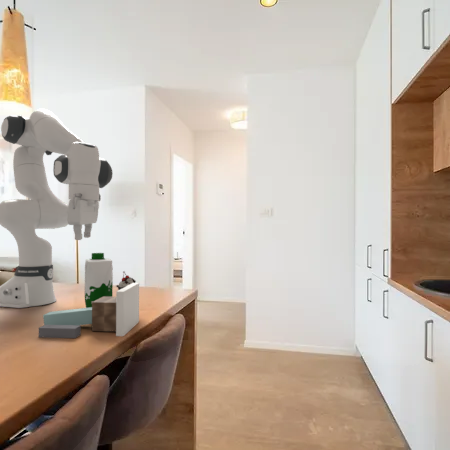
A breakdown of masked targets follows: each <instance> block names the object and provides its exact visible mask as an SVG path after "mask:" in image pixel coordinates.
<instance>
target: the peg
mask: <svg viewBox="0 0 450 450" xmlns="http://www.w3.org/2000/svg"><path fill="white" fill-rule="evenodd" d="M42 315H43V316H42V319H43V325H81V326H85V325H92V307H89V308H86V307H82V308H80V307H79V308H74V309H64V310H54V311H49V312H47V313H45V314H42Z"/></svg>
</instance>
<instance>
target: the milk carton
mask: <svg viewBox="0 0 450 450" xmlns="http://www.w3.org/2000/svg"><path fill="white" fill-rule="evenodd" d="M113 268H114V267H113V260H112V259H110V258H105V253H104V252H92V253H91V258H88V259H85V263H84V303H85V308H89V307H92V302H94V301H95V300H97V299H99V298H101V297H103V296H109V297H113V286H114V285H113V278H114V277H113V276H114V275H113V273H114V272H113Z"/></svg>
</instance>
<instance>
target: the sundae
mask: <svg viewBox="0 0 450 450" xmlns="http://www.w3.org/2000/svg"><path fill="white" fill-rule="evenodd" d="M122 273H123V274H122V275H123V276H122V278H121V281H120V282H119V283H118V284H117V285H115V287H116V288H117V291H118V290H120V289H122V288H124V287H126V286H128V285H130V284H132V283H137V281H136V280H135V279H134V278H133V277H130V276H129V275H127V274H126V271H125V270H124V271H122ZM124 276H125V277H124Z"/></svg>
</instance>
